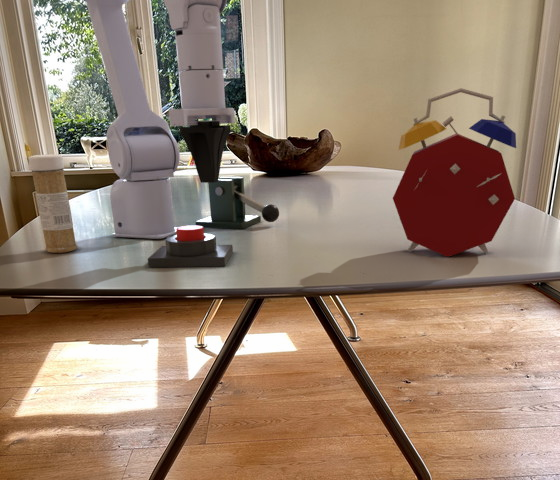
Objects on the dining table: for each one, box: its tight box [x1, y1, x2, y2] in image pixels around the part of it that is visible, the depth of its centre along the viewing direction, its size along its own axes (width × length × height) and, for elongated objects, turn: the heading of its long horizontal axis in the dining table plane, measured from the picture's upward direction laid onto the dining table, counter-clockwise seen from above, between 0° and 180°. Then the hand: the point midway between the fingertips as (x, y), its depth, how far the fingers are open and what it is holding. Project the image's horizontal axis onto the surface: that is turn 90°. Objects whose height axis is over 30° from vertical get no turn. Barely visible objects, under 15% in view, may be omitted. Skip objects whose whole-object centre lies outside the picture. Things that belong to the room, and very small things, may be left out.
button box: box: [147, 233, 234, 268], centre depth 80 cm, size 10×8×3 cm
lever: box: [222, 179, 280, 223], centre depth 103 cm, size 12×3×3 cm, turn 68°
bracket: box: [195, 176, 262, 230], centre depth 105 cm, size 9×8×8 cm
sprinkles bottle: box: [27, 153, 78, 254], centre depth 86 cm, size 5×5×14 cm
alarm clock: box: [392, 87, 517, 258], centre depth 75 cm, size 15×9×20 cm, turn 76°
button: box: [175, 224, 205, 241], centre depth 79 cm, size 4×4×2 cm
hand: (209, 182), depth 82 cm, fingers closed
